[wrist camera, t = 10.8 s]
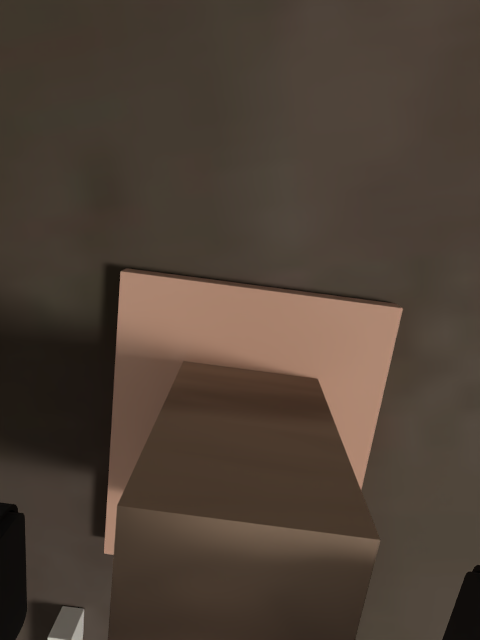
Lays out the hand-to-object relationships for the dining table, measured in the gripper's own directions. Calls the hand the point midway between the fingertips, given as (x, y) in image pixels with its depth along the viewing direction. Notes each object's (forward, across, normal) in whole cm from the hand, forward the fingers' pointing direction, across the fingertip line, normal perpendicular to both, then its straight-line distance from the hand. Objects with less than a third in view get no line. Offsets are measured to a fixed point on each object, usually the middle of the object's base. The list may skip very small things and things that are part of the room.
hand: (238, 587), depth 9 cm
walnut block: (+7, 0, +1) cm, 8 cm away
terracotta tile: (+8, 0, +1) cm, 8 cm away
